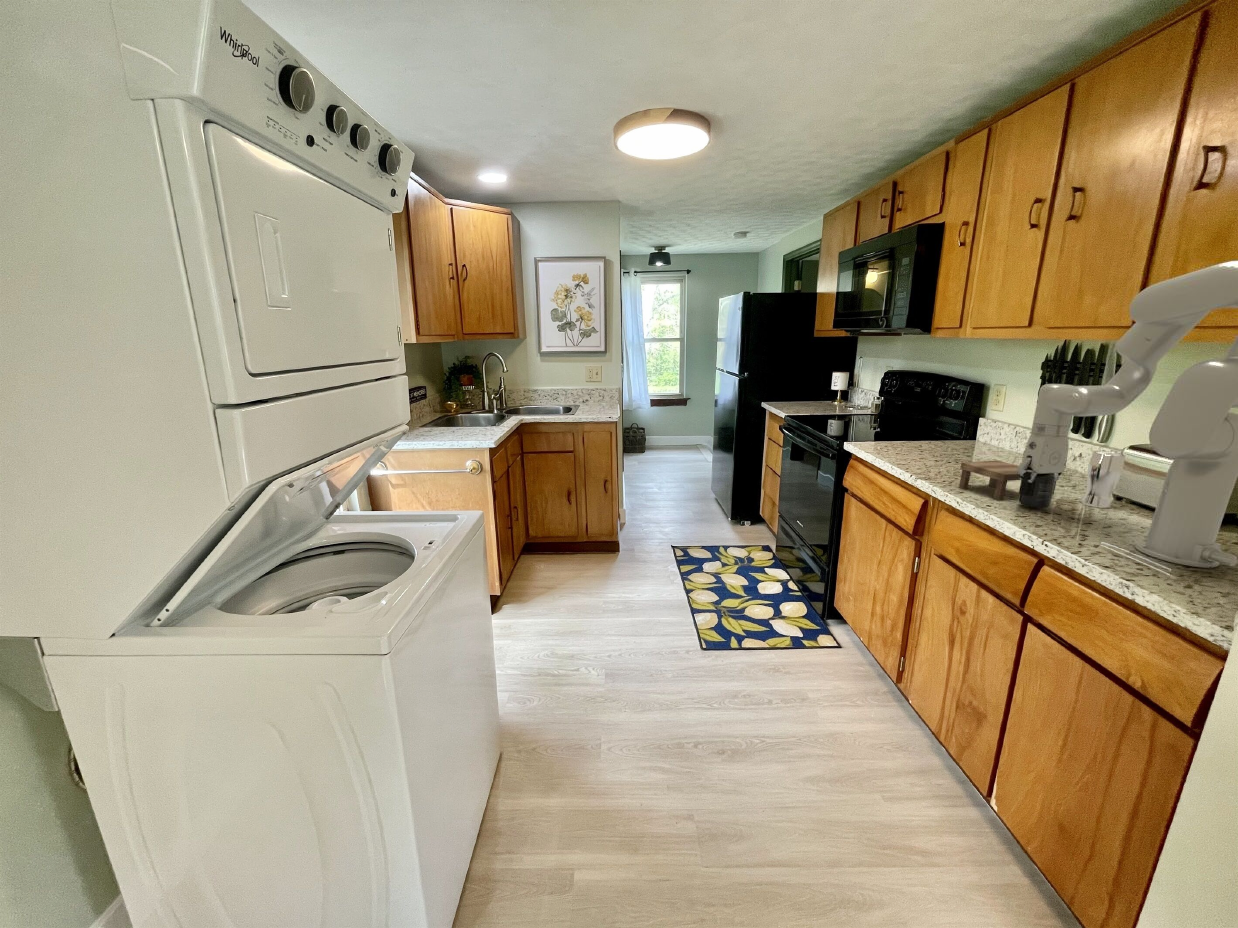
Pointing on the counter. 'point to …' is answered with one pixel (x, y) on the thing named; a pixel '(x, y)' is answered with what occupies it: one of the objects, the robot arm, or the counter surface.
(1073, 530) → the counter surface
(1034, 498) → the supplement bottle
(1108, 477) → the beer glass
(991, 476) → the walnut stool
